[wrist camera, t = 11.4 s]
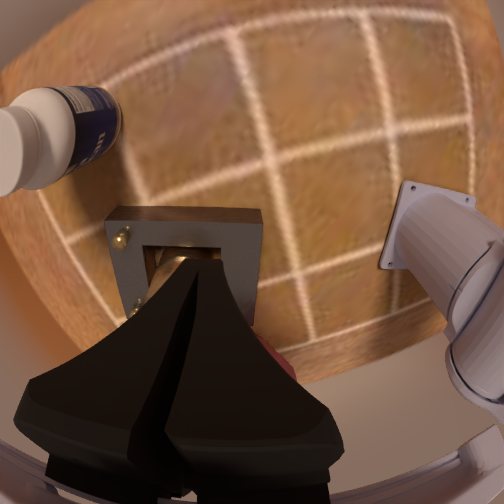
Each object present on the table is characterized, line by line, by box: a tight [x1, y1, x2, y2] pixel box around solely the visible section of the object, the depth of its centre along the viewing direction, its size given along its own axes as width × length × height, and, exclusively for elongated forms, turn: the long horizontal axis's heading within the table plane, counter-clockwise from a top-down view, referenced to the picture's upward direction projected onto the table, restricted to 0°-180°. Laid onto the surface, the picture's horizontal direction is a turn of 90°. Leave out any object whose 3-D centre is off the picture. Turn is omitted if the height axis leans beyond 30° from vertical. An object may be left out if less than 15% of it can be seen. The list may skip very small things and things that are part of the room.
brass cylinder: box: [145, 246, 214, 303], centre depth 19 cm, size 4×4×6 cm
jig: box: [104, 206, 263, 326], centre depth 20 cm, size 11×9×4 cm
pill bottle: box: [0, 86, 121, 197], centre depth 11 cm, size 5×5×10 cm
